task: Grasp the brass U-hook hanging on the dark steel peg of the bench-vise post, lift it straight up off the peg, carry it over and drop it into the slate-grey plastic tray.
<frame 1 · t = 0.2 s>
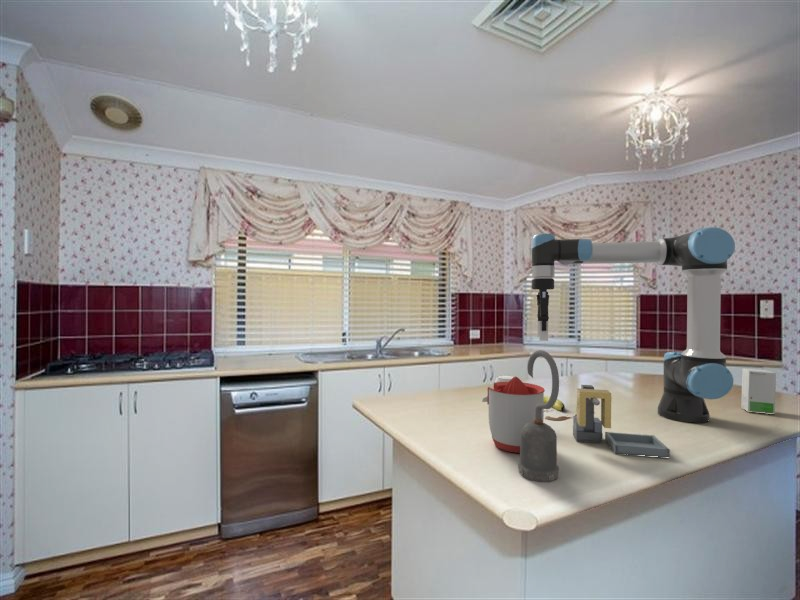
hand: (542, 338, 141), 28 cm above the table, fingers open, 13 cm apart
hook: (540, 476, 96), on the table
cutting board: (545, 407, 157), on the table
brass hook: (593, 424, 112), point 7 cm above the table, touching vise post
tray: (635, 449, 112), on the table
skincare box: (757, 412, 149), on the table
supplement can: (507, 420, 138), on the table
citrus juicer: (512, 446, 115), on the table
vise post: (587, 439, 120), on the table
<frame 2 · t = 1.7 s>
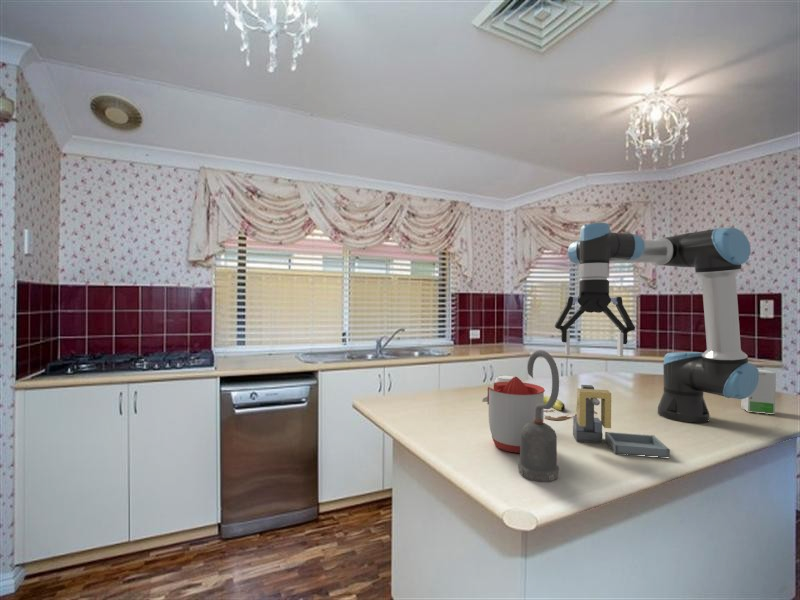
hand: (593, 355, 112), 26 cm above the table, fingers open, 13 cm apart
nothing on the table moved.
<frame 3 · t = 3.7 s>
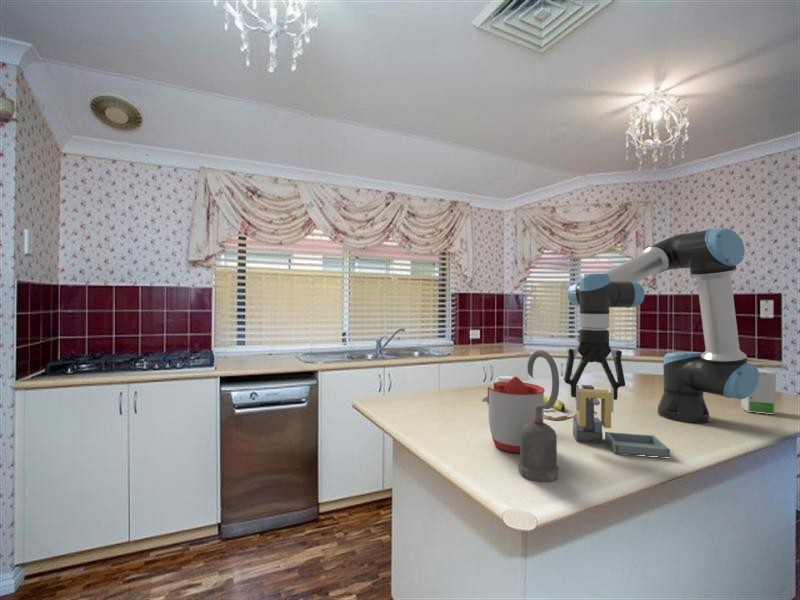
hand: (593, 409, 112), 11 cm above the table, fingers closed on brass hook, 8 cm apart
brass hook: (593, 424, 112), point 7 cm above the table, touching gripper, vise post
everything else where it was.
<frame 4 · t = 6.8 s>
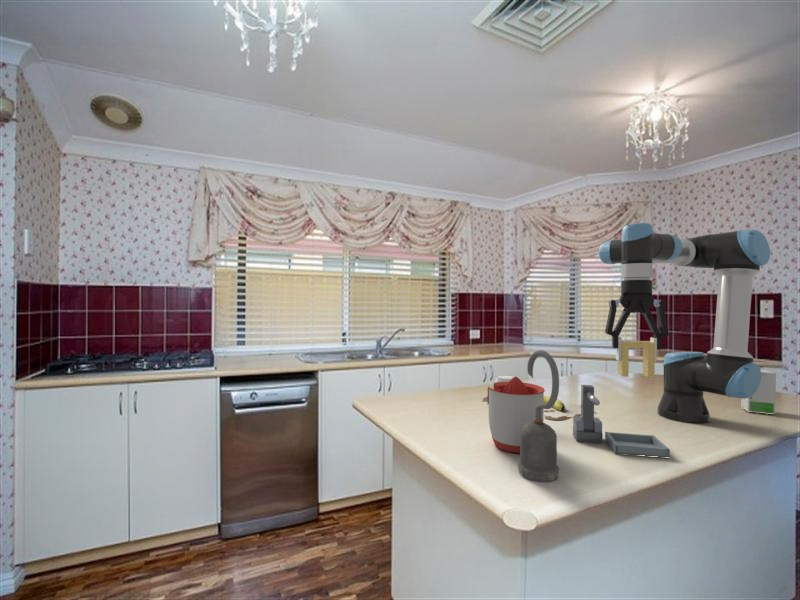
hand: (635, 360, 112), 25 cm above the table, fingers closed on brass hook, 8 cm apart
brass hook: (635, 375, 112), point 21 cm above the table, touching gripper
everything else where it was.
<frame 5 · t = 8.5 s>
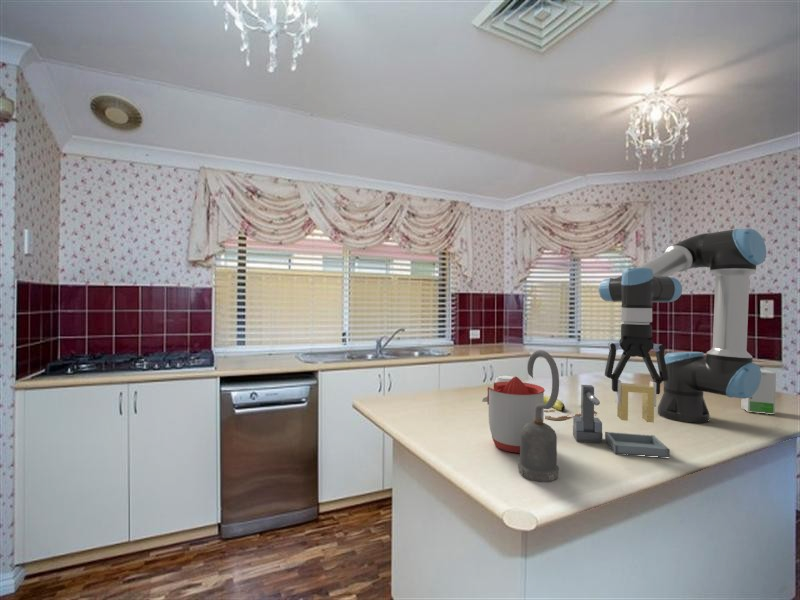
hand: (635, 404, 112), 13 cm above the table, fingers closed on brass hook, 8 cm apart
brass hook: (635, 419, 112), point 8 cm above the table, touching gripper
everything else where it was.
when the fingers open (7 cm above the table, at t = 9.9 s): brass hook drops 2 cm, resting on tray.
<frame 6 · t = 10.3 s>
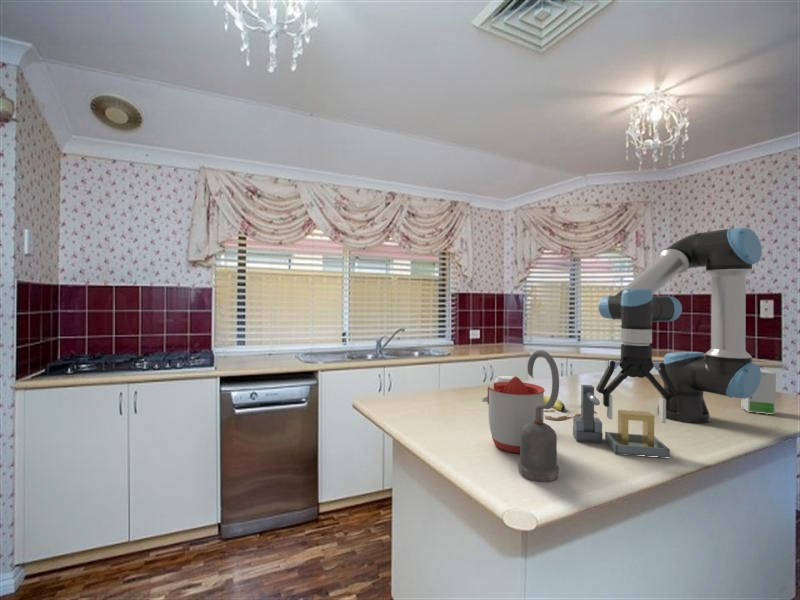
hand: (635, 419, 112), 8 cm above the table, fingers open, 13 cm apart
brass hook: (635, 446, 112), point 1 cm above the table, touching tray
everything else where it was.
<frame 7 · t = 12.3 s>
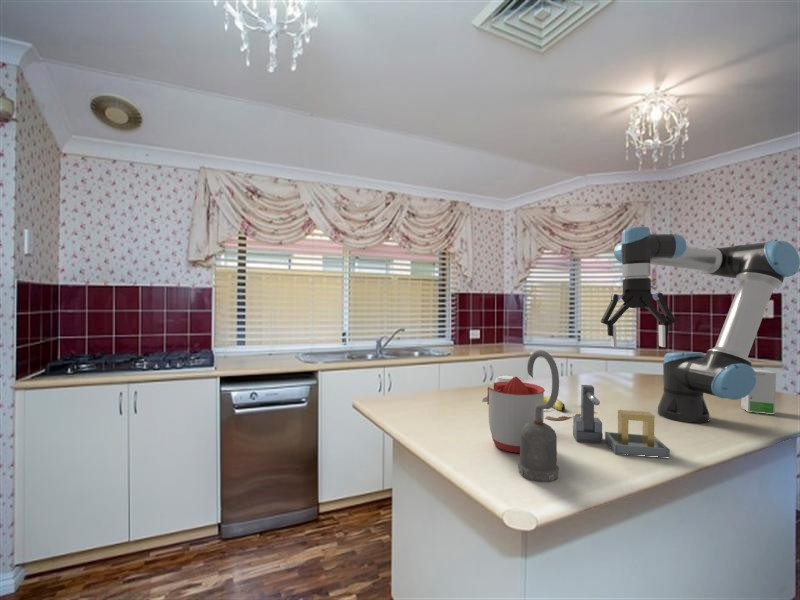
hand: (637, 346, 124), 27 cm above the table, fingers open, 13 cm apart
nothing on the table moved.
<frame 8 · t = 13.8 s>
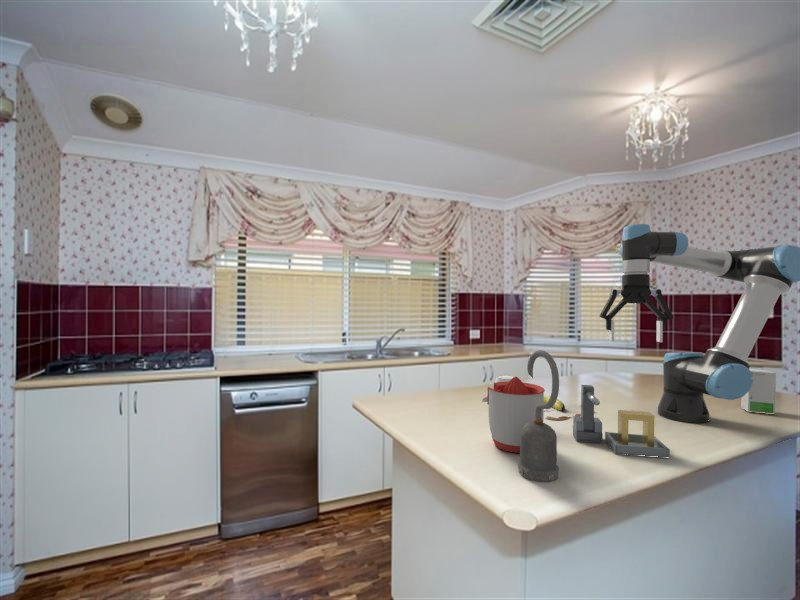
hand: (635, 341, 127), 29 cm above the table, fingers open, 13 cm apart
nothing on the table moved.
at the end: brass hook inside the target area on the tray (0.0 cm from its centre), point 0.6 cm above the tray's base; the gripper is holding nothing; brass hook touching tray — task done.
